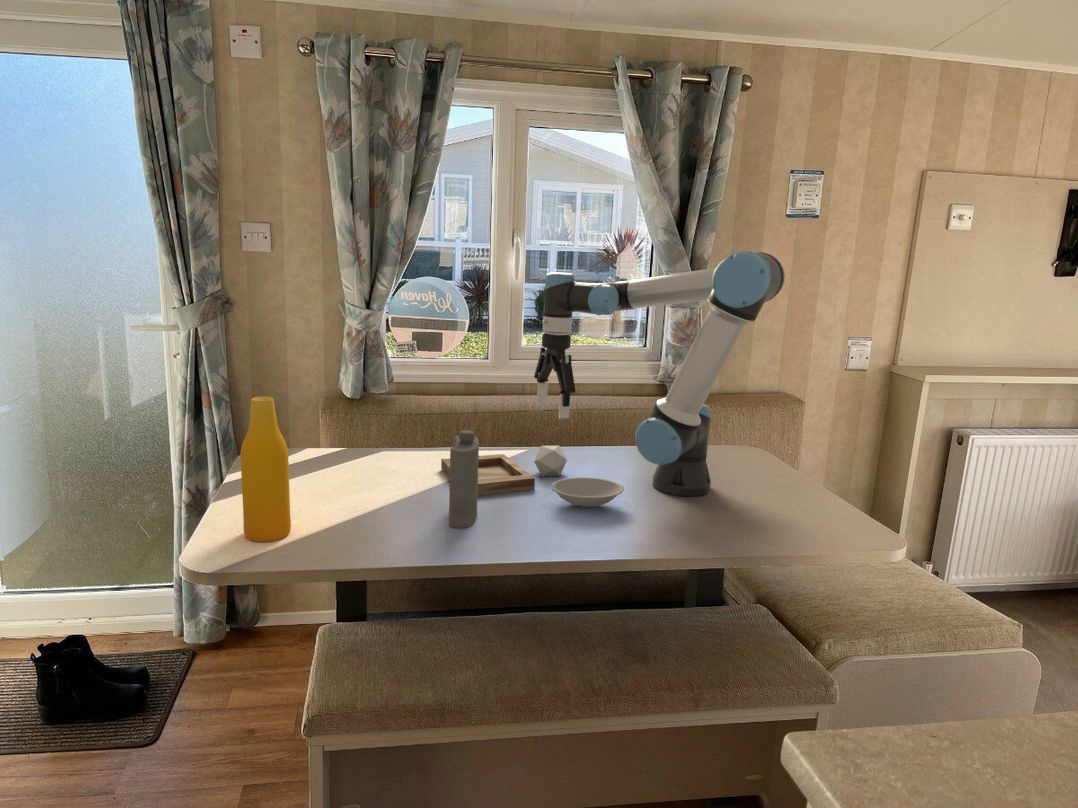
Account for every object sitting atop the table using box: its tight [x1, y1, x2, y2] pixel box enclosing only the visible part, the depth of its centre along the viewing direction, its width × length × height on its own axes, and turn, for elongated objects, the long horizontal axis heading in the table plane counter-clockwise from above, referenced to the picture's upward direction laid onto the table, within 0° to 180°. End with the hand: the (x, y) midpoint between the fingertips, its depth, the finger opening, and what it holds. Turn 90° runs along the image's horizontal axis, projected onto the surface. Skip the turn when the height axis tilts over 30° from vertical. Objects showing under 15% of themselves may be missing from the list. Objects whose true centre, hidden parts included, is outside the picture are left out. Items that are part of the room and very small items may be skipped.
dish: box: [550, 476, 625, 509], centre depth 178 cm, size 18×14×5 cm
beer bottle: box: [239, 396, 292, 543], centre depth 151 cm, size 9×9×29 cm
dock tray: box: [440, 453, 536, 496], centre depth 195 cm, size 22×18×3 cm
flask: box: [448, 429, 480, 529], centre depth 167 cm, size 15×6×20 cm, turn 1°
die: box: [533, 445, 568, 477], centre depth 201 cm, size 8×9×10 cm
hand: (552, 411), depth 198 cm, fingers open, 13 cm apart
